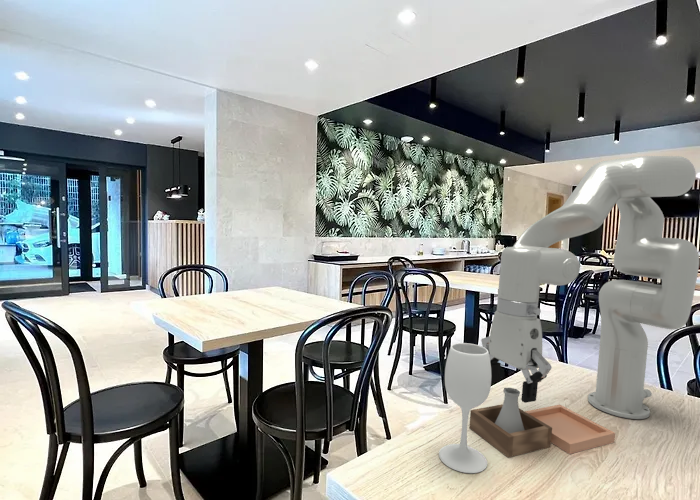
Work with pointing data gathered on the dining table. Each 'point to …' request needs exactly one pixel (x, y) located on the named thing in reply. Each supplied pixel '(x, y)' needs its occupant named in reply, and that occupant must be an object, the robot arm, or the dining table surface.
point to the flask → (510, 412)
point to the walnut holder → (513, 443)
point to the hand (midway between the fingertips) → (509, 390)
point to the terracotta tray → (572, 429)
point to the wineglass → (466, 400)
